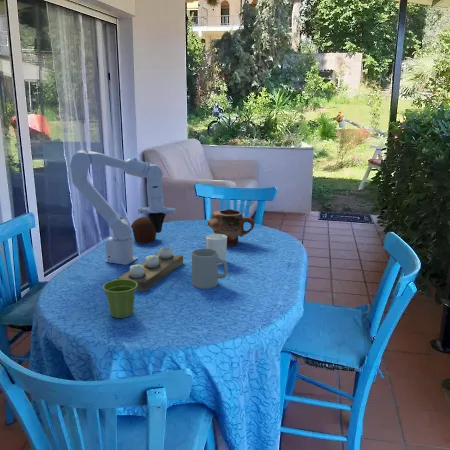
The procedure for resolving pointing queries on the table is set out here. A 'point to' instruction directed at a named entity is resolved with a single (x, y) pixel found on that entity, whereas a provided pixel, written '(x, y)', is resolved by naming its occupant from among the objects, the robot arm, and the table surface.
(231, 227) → the brown ceramic rounded pot
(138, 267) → the knob near
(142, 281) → the knob strip
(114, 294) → the plant pot
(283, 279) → the table surface
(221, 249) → the white cup
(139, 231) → the muffin
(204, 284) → the mug
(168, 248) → the knob far
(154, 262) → the knob middle
